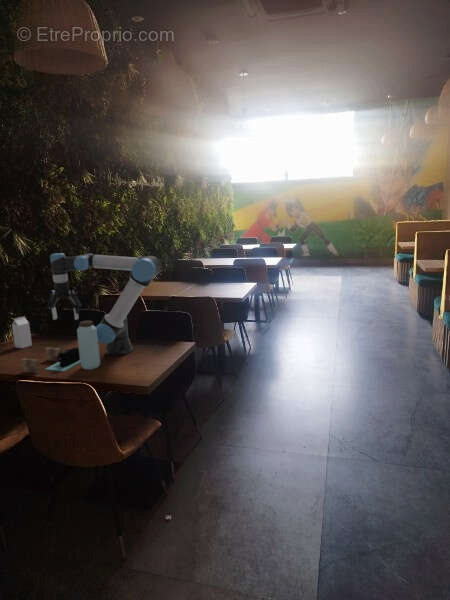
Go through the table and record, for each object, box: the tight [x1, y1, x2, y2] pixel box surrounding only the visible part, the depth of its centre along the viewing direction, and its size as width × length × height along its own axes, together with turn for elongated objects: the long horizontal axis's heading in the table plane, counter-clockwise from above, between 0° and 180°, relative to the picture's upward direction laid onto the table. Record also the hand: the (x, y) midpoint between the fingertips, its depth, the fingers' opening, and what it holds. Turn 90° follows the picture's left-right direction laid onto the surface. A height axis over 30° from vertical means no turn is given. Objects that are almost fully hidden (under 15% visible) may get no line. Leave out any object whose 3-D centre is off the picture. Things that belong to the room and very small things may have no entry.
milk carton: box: [11, 315, 33, 349], centre depth 261 cm, size 7×7×19 cm
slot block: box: [21, 347, 62, 374], centre depth 226 cm, size 9×20×7 cm, turn 164°
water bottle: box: [76, 320, 101, 371], centre depth 220 cm, size 10×10×25 cm
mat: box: [45, 360, 81, 373], centre depth 227 cm, size 12×18×1 cm, turn 163°
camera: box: [57, 346, 80, 367], centre depth 227 cm, size 14×7×8 cm, turn 156°
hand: (66, 319), depth 232 cm, fingers open, 13 cm apart
